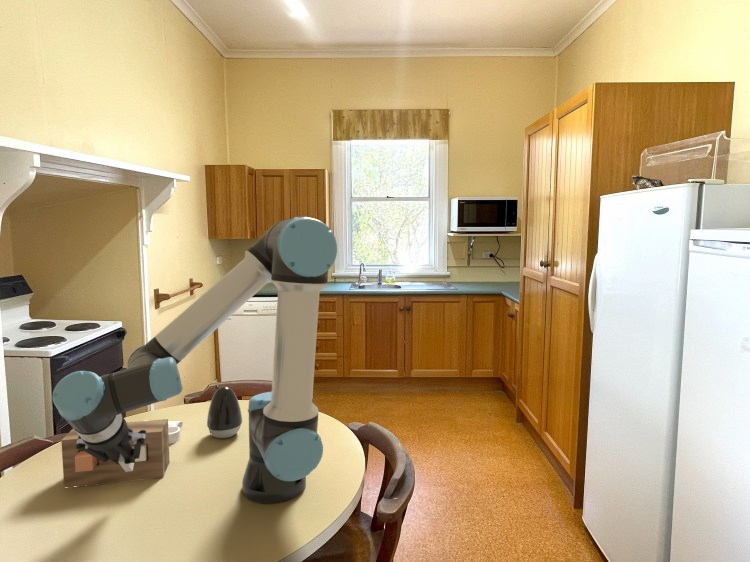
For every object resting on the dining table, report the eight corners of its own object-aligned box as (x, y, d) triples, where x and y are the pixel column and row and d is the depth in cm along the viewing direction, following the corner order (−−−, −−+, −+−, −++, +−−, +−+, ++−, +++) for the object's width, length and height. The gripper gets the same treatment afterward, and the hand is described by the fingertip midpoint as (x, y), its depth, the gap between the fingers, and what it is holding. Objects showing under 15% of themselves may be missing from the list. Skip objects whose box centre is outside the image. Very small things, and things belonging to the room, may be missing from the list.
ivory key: (145, 460, 112) (145, 446, 112) (129, 462, 111) (129, 448, 111) (150, 451, 117) (149, 438, 116) (135, 453, 116) (134, 439, 115)
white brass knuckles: (192, 428, 144) (170, 450, 129) (137, 427, 145) (108, 448, 130) (192, 418, 144) (169, 439, 129) (136, 417, 144) (108, 437, 130)
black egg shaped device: (232, 424, 146) (231, 379, 145) (248, 435, 139) (247, 386, 137) (201, 434, 139) (200, 386, 138) (216, 445, 132) (215, 394, 130)
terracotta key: (92, 470, 107) (91, 455, 107) (75, 472, 106) (74, 457, 106) (99, 460, 112) (99, 446, 112) (83, 461, 111) (82, 447, 111)
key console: (163, 477, 114) (161, 431, 113) (64, 488, 109) (61, 440, 108) (169, 462, 122) (167, 418, 121) (77, 471, 116) (74, 426, 115)
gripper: (57, 447, 83) (95, 485, 101) (134, 440, 86) (158, 479, 104) (68, 408, 88) (102, 451, 106) (141, 404, 91) (162, 446, 109)
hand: (130, 465), depth 105 cm, fingers closed
